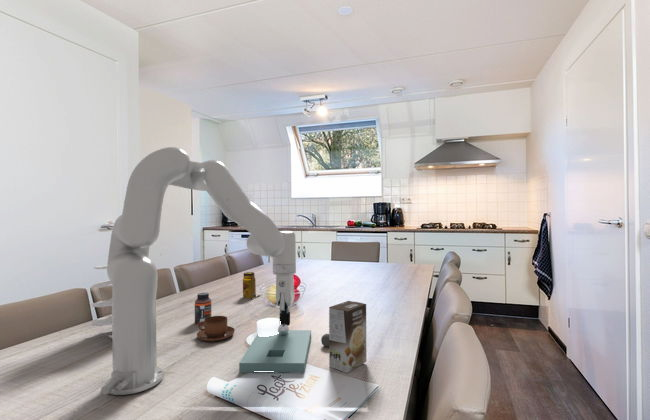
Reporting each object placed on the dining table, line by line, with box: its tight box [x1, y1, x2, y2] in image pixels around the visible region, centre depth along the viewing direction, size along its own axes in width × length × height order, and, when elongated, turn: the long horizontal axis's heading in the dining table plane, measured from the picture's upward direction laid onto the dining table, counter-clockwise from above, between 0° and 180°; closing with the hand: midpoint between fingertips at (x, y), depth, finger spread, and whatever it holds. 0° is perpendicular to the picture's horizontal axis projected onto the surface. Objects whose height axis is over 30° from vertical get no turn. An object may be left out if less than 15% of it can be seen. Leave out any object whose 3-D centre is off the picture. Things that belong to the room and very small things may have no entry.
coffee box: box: [328, 300, 367, 374], centre depth 92 cm, size 9×6×16 cm
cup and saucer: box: [196, 315, 235, 342], centre depth 113 cm, size 12×12×6 cm
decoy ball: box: [320, 333, 329, 348], centre depth 105 cm, size 4×4×4 cm
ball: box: [277, 324, 290, 335], centre depth 108 cm, size 3×3×3 cm
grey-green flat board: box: [238, 329, 312, 374], centre depth 100 cm, size 24×17×2 cm
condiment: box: [242, 271, 261, 300], centre depth 166 cm, size 7×8×12 cm
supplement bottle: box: [194, 292, 213, 326], centre depth 127 cm, size 6×6×11 cm
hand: (284, 324), depth 111 cm, fingers closed
